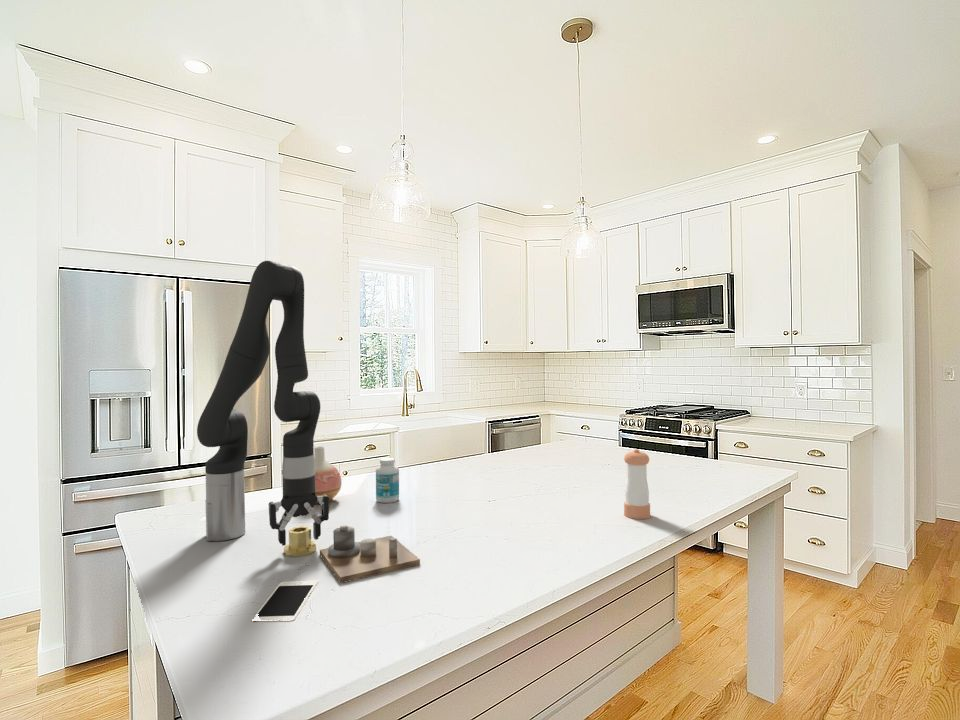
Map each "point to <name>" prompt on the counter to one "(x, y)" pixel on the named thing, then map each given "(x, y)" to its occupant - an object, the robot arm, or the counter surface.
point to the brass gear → (299, 542)
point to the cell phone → (286, 600)
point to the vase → (325, 476)
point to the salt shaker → (636, 486)
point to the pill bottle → (387, 481)
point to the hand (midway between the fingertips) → (300, 541)
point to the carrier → (365, 555)
